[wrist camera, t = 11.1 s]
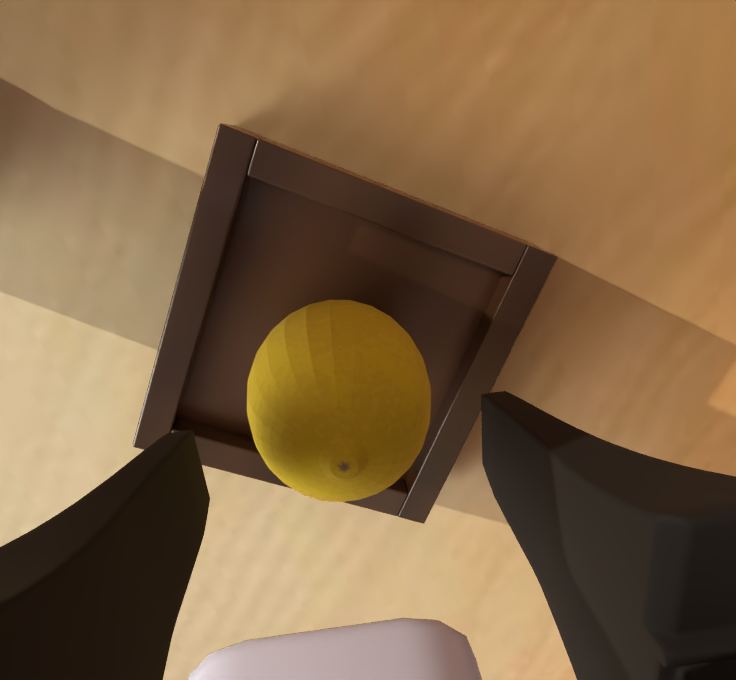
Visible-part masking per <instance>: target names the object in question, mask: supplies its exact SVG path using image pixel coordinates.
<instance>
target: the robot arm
mask: <svg viewBox="0 0 736 680" xmlns="http://www.w3.org/2000/svg"><path fill="white" fill-rule="evenodd" d="M481 409H482V461H483V466H484V469H485V472H486V475H487V478H488V480H489V483H490V486H491V488H492V491H493V494H494V496H495V498H496V500H497V502H498V504H499V506H500V508H501V510H502V512H503V514H504V516H505V518H506V520H507V522H508V523H509V525H510V527H511V529H512V531H513V533H514V535H515V537H516V538H517V540H518V542H519V544H520V546H521V548H522V550H523V552H524V553H525V555H526V557H527V559H528V561H529V563H530V565H531V567H532V568H533V570H534V573H535V575H536V577H537V579H538V581H539V583H540V585H541V587H542V590H543V592H544V595H545V597H546V600H547V602H548V605H549V607H550V610H551V612H552V615H553V617H554V620H555V622H556V625H557V627H558V630H559V633H560V635H561V638H562V640H563V643H564V646H565V648H566V651H567V654H568V656H569V659H570V661H571V664H572V667H573V669H574V672H575V675H576V678H577V680H736V477H735V476H730V475H725V474H719V473H714V472H709V471H704V470H700V469H695V468H691V467H687V466H682V465H679V464H675V463H671V462H668V461H664V460H660V459H657V458H653V457H650V456H647V455H643V454H640V453H637V452H634V451H631V450H629V449H626V448H623V447H620V446H618V445H615V444H612V443H610V442H607V441H605V440H602V439H600V438H597V437H595V436H593V435H591V434H588V433H586V432H584V431H582V430H580V429H577V428H575V427H573V426H571V425H569V424H567V423H565V422H563V421H561V420H559V419H557V418H555V417H553V416H552V415H550V414H548V413H546V412H544V411H542V410H540V409H539V408H537V407H535V406H533V405H531V404H529V403H528V402H526V401H524V400H522V399H520V398H518V397H516V396H515V395H513V394H510V393H508V392H506V391H503V392H495V393H487V394H481ZM209 501H210V497H209V493H208V489H207V485H206V481H205V477H204V473H203V469H202V465H201V461H200V457H199V453H198V449H197V445H196V441H195V437H194V433H193V430H188V431H180V432H172V433H167V434H166V435H164V436H162V437H161V438H160V439H158V440H157V441H156V442H154V443H153V444H152V445H150V446H149V447H148V448H147V449H145V450H144V451H143V452H142V453H140V454H139V455H138V456H137V457H135V458H134V459H133V460H132V461H130V462H129V463H128V464H126V465H125V466H124V467H123V468H121V469H120V470H119V471H118V472H116V473H115V474H114V475H113V476H111V477H110V478H109V479H107V480H106V481H105V482H103V483H102V484H101V485H99V486H98V487H96V488H95V489H94V490H92V491H91V492H90V493H88V494H87V495H85V496H84V497H83V498H81V499H80V500H79V501H77V502H76V503H74V504H73V505H71V506H70V507H68V508H67V509H65V510H64V511H62V512H61V513H59V514H58V515H56V516H55V517H53V518H51V519H50V520H48V521H46V522H45V523H43V524H41V525H40V526H38V527H37V528H35V529H33V530H31V531H30V532H28V533H26V534H24V535H22V536H21V537H19V538H17V539H15V540H13V541H11V542H9V543H7V544H6V545H4V546H2V547H0V680H163V675H164V671H165V666H166V661H167V657H168V652H169V647H170V642H171V638H172V634H173V631H174V627H175V623H176V620H177V617H178V613H179V610H180V607H181V604H182V601H183V598H184V595H185V592H186V589H187V586H188V583H189V580H190V577H191V574H192V571H193V568H194V564H195V561H196V558H197V555H198V552H199V549H200V546H201V542H202V539H203V536H204V531H205V525H206V520H207V514H208V507H209ZM188 680H482V678H481V675H480V671H479V668H478V665H477V661H476V658H475V656H474V654H473V651H472V649H471V647H470V644H469V642H468V640H467V637H466V636H465V635H463V634H461V633H460V632H458V631H456V630H455V629H453V628H451V627H449V626H448V625H446V624H444V623H442V622H441V621H438V620H429V619H412V618H399V619H392V620H385V621H378V622H371V623H364V624H357V625H350V626H343V627H336V628H328V629H321V630H314V631H307V632H300V633H293V634H286V635H279V636H272V637H265V638H258V639H250V640H246V641H243V642H240V643H237V644H234V645H231V646H228V647H226V648H223V649H220V650H217V651H215V652H212V653H210V654H209V655H208V656H207V657H206V658H205V659H204V660H203V661H202V662H201V663H200V665H199V666H198V667H197V668H196V669H195V670H194V671H193V672H192V673H191V674H190V675H189V677H188Z"/></svg>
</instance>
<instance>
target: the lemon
mask: <svg viewBox="0 0 736 680" xmlns="http://www.w3.org/2000/svg"><path fill="white" fill-rule="evenodd" d="M430 413H431V388H430V382H429V378H428V374H427V371H426V367H425V363H424V360H423V357H422V355H421V354H420V352H419V350H418V349H417V347H416V345H415V343H414V342H413V340H412V338H411V337H410V335H409V334H408V333H407V332H406V331H405V330H404V329H403V328H402V327H401V326H400V325H399V324H398V323H397V322H396V321H395V320H394V319H393V318H392V317H390V316H389V315H387V314H385V313H383V312H382V311H380V310H378V309H376V308H374V307H373V306H370V305H367V304H363V303H359V302H355V301H352V300H326V301H322V302H317V303H313V304H309V305H307V306H305V307H303V308H301V309H299V310H297V311H295V312H293V313H291V314H289V315H288V316H287V317H286V318H285V319H284V320H282V321H281V322H280V323H279V324H278V325H277V326H276V327H275V328H273V329H272V330H271V332H270V333H269V335H268V336H267V338H266V339H265V341H264V342H263V344H262V345H261V347H260V348H259V350H258V351H257V353H256V356H255V359H254V362H253V365H252V368H251V371H250V374H249V377H248V383H247V416H248V420H249V424H250V428H251V432H252V435H253V439H254V443H255V445H256V448H257V449H258V451H259V453H260V454H261V456H262V458H263V460H264V461H265V463H266V465H267V466H268V468H269V469H270V470H271V471H272V472H273V473H274V474H275V475H276V476H277V477H278V478H279V479H280V480H281V481H282V482H283V483H285V484H286V485H287V486H289V487H291V488H293V489H294V490H296V491H298V492H299V493H301V494H303V495H306V496H309V497H312V498H315V499H318V500H322V501H333V502H345V501H353V500H360V499H363V498H366V497H369V496H372V495H375V494H378V493H379V492H381V491H383V490H384V489H386V488H388V487H389V486H391V485H392V484H394V483H395V482H396V481H397V480H398V479H399V478H400V477H401V476H402V475H403V474H404V473H405V472H406V471H407V470H408V469H409V468H410V467H411V465H412V464H413V462H414V461H415V459H416V457H417V456H418V454H419V453H420V451H421V449H422V447H423V444H424V440H425V437H426V434H427V431H428V427H429V423H430Z"/></svg>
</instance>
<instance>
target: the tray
mask: <svg viewBox="0 0 736 680" xmlns="http://www.w3.org/2000/svg"><path fill="white" fill-rule="evenodd" d="M556 260H557V256H556V255H554V254H552V253H549V252H547V251H545V250H543V249H541V248H539V247H537V246H535V245H533V244H531V243H529V242H527V241H524V240H522V239H519V238H517V237H514V236H512V235H509V234H507V233H504V232H502V231H499V230H497V229H494V228H492V227H489V226H487V225H484V224H482V223H479V222H476V221H474V220H471V219H469V218H466V217H464V216H461V215H459V214H456V213H454V212H451V211H449V210H446V209H444V208H441V207H439V206H436V205H434V204H431V203H429V202H426V201H424V200H421V199H419V198H416V197H413V196H411V195H408V194H406V193H403V192H401V191H398V190H396V189H393V188H391V187H388V186H386V185H383V184H381V183H378V182H376V181H373V180H371V179H368V178H366V177H363V176H361V175H358V174H355V173H353V172H350V171H348V170H345V169H343V168H340V167H338V166H335V165H333V164H330V163H328V162H325V161H323V160H320V159H318V158H315V157H313V156H310V155H308V154H305V153H303V152H300V151H298V150H295V149H292V148H290V147H287V146H285V145H282V144H280V143H277V142H275V141H272V140H270V139H267V138H265V137H262V136H260V135H257V134H255V133H252V132H250V131H247V130H245V129H242V128H240V127H237V126H234V125H228V124H219V125H218V129H217V132H216V136H215V140H214V144H213V147H212V151H211V155H210V159H209V162H208V166H207V170H206V173H205V177H204V181H203V185H202V188H201V192H200V196H199V199H198V203H197V207H196V211H195V214H194V218H193V222H192V226H191V229H190V233H189V237H188V240H187V244H186V248H185V252H184V255H183V259H182V263H181V266H180V270H179V274H178V278H177V281H176V285H175V289H174V293H173V296H172V300H171V304H170V307H169V311H168V315H167V319H166V322H165V326H164V330H163V333H162V337H161V341H160V345H159V348H158V352H157V356H156V360H155V363H154V367H153V371H152V374H151V378H150V382H149V386H148V389H147V393H146V397H145V400H144V404H143V408H142V412H141V415H140V419H139V423H138V427H137V430H136V434H135V438H134V441H133V446H134V447H136V448H140V449H144V450H145V449H147V448H148V447H149V446H150V445H152V444H153V443H154V442H156V441H157V440H158V439H160V438H161V437H162V436H164V435H166V434H167V433H172V432H180V431H188V430H193V433H194V437H195V441H196V445H197V449H198V453H199V457H200V461H201V465H205V466H208V467H212V468H216V469H220V470H224V471H227V472H231V473H235V474H239V475H243V476H246V477H250V478H254V479H258V480H262V481H265V482H269V483H273V484H277V485H281V486H284V487H288V488H291V487H289V486H287V485H286V484H285V483H283V482H282V481H281V480H280V479H279V478H278V477H277V476H276V475H275V474H274V473H273V472H272V471H271V470H270V469H269V468H268V466H267V465H266V463H265V461H264V460H263V458H262V456H261V454H260V453H259V451H258V449H257V448H256V445H255V443H254V439H253V435H252V432H251V428H250V424H249V420H248V416H247V383H248V377H249V374H250V371H251V368H252V365H253V362H254V359H255V356H256V353H257V351H258V350H259V348H260V347H261V345H262V344H263V342H264V341H265V339H266V338H267V336H268V335H269V333H270V332H271V330H272V329H273V328H275V327H276V326H277V325H278V324H279V323H280V322H281V321H282V320H284V319H285V318H286V317H287V316H288V315H289V314H291V313H293V312H295V311H297V310H299V309H301V308H303V307H305V306H307V305H309V304H313V303H317V302H322V301H326V300H352V301H355V302H359V303H363V304H367V305H370V306H373V307H374V308H376V309H378V310H380V311H382V312H383V313H385V314H387V315H389V316H390V317H392V318H393V319H394V320H395V321H396V322H397V323H398V324H399V325H400V326H401V327H402V328H403V329H404V330H405V331H406V332H407V333H408V334H409V335H410V337H411V338H412V340H413V342H414V343H415V345H416V347H417V349H418V350H419V352H420V354H421V355H422V357H423V360H424V363H425V367H426V371H427V374H428V378H429V382H430V388H431V413H430V423H429V427H428V431H427V434H426V437H425V440H424V444H423V447H422V449H421V451H420V453H419V454H418V456H417V457H416V459H415V461H414V462H413V464H412V465H411V467H410V468H409V469H408V470H407V471H406V472H405V473H404V474H403V475H402V476H401V477H400V478H399V479H398V480H397V481H396V482H395V483H394V484H392V485H391V486H389V487H388V488H386V489H384V490H383V491H381V492H379V493H378V494H375V495H372V496H369V497H366V498H363V499H360V500H353V501H345V503H349V504H353V505H356V506H360V507H364V508H368V509H372V510H375V511H379V512H383V513H387V514H391V515H394V516H398V517H401V518H405V519H408V520H412V521H416V522H420V523H425V521H426V519H427V517H428V515H429V513H430V511H431V509H432V507H433V505H434V503H435V501H436V499H437V497H438V495H439V493H440V491H441V489H442V487H443V485H444V483H445V481H446V479H447V477H448V475H449V473H450V471H451V469H452V467H453V465H454V463H455V461H456V459H457V457H458V455H459V453H460V451H461V449H462V447H463V445H464V443H465V441H466V439H467V437H468V435H469V433H470V431H471V429H472V427H473V425H474V423H475V421H476V419H477V417H478V415H479V413H480V411H481V394H487V393H490V391H491V389H492V387H493V385H494V383H495V381H496V379H497V377H498V375H499V373H500V371H501V369H502V367H503V365H504V363H505V361H506V359H507V357H508V355H509V353H510V351H511V349H512V347H513V345H514V343H515V341H516V339H517V337H518V335H519V333H520V331H521V329H522V327H523V325H524V323H525V321H526V319H527V317H528V315H529V313H530V311H531V309H532V307H533V305H534V303H535V301H536V299H537V297H538V295H539V293H540V291H541V289H542V287H543V285H544V283H545V281H546V279H547V277H548V275H549V273H550V271H551V269H552V267H553V265H554V263H555V261H556ZM292 489H293V488H292Z"/></svg>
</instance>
